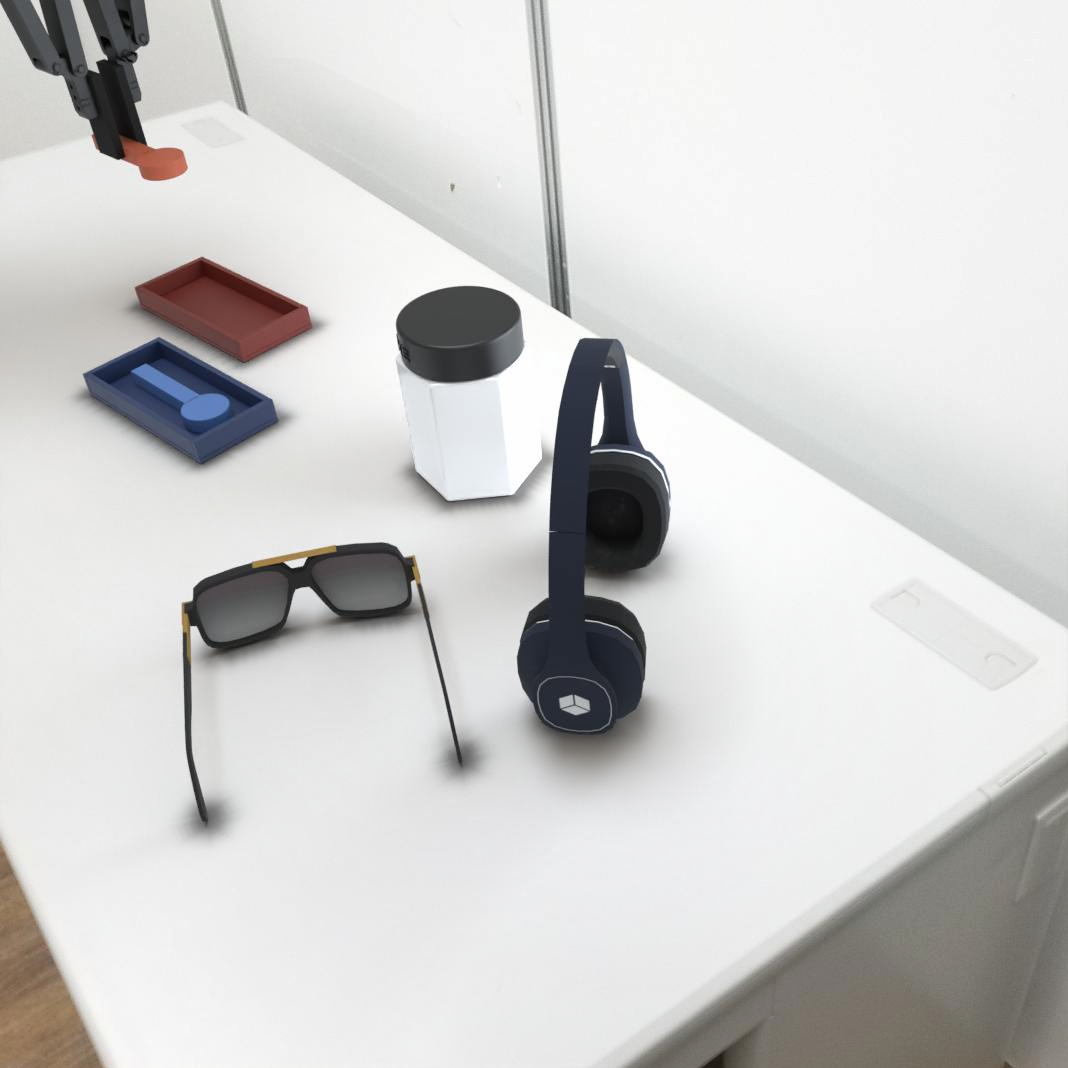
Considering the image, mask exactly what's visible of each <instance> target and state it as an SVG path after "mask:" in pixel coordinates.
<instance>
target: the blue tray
mask: <svg viewBox="0 0 1068 1068" xmlns="http://www.w3.org/2000/svg"><path fill="white" fill-rule="evenodd" d="M144 364H147V365H149V366H151V367H153V368H154V369H156V370H158V371H159V372H161V373H163V374H165V375H166V376H168V377H170V378H171V379H173V380H175V381H177V382H178V383H180V384H182V385H183V386H185V387H187V388H189V389H190V390H192V391H194V392H195V393H197V394H199V395H203V394H220V395H223V396H225V397H226V398H227V399H228V400H229V402H230V405H231V409H232V412H233V417H232V418H231V419H229V420H227V421H225V422H223V423H221V424H220V425H218V426H216V427H214V428H212V429H210V430H209V431H207V432H205V433H195V432H192V431H190V430H188V429H187V428H186V427H185V424H184V421H183V418H182V415H181V411H179V410H178V409H176V408H174V407H173V406H171V405H169V404H168V403H166V402H164V401H163V400H161V399H159V398H158V397H156V396H155V395H153V394H151V393H150V392H148V391H146V390H145V389H143V388H141V387H140V386H138V385H136V384H135V382H134V379H133V376H132V373H131V371H132V370H134V369H136V368H138V367H140V366H142V365H144ZM82 377H83V379H84V381H85V384H86V387H87V389H88V392H89V395H90V396H92V397H93V398H95V399H97V401H100V402H102V403H103V404H104V405H106V406H107V407H110V408H111V409H112V410H114V411H116V412H117V413H119V414H120V415H122V416H123V417H125V418H127V419H128V420H130V421H132V422H133V423H135V424H136V425H138V426H139V427H141V428H143V429H144V430H146V431H148V432H149V433H150V434H152V435H154V436H155V437H157V438H159V439H160V440H162V441H164V442H165V443H166V444H168V445H170V446H171V447H173V448H175V449H176V450H178V451H180V452H181V453H183V454H184V455H185V456H187V457H189V458H191V459H192V460H193V461H195V462H197V463H198V464H200V465H202V464H204V463H207V462H208V461H209V460H210V459H213V458H215V457H216V456H218V455H220V454H221V453H222V454H223V452H225V451H227V450H229V449H231V448H232V447H234V446H236V445H238V444H239V443H241V442H244V441H245V440H246V439H248V438H250V437H252V436H254V435H256V434H257V433H259V432H261V431H263V430H265V429H267V428H269V427H270V426H271V425H273V424H275V423H277V422H278V421H279V418H278V415H277V412H276V408H275V407H276V406H275V404H274V400H273V399H272V398H271V397H269V396H267V395H265V394H263V393H261V392H259V391H258V390H256V389H254V388H253V387H251V386H249V385H248V384H247V385H246V384H245V383H244V382H241V381H240V380H238V379H236V378H234V377H232V376H231V375H229V374H227V373H226V372H223V371H222V370H220V369H218V368H216V367H215V366H213V365H211V364H209V363H207V362H206V361H204V360H202V359H200V358H198V357H196V356H195V355H193V354H191V353H189V352H188V351H186V350H184V349H183V348H181V347H179V346H177V345H174V344H173V343H171V342H169V341H167V340H166V339H164V338H163V337H161V336H158V337H156V338H154V339H152V340H150V341H148V342H146V343H143V344H142V345H139V346H137V347H135V348H133V349H131V350H129V351H127V352H125V353H123V354H121V355H118V356H117V357H115V358H113V359H110V360H108V361H106V362H104V363H102V364H100V365H98V366H96V367H94V368H92V369H90V370H88V371H86V372H83V373H82Z"/></svg>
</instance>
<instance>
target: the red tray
mask: <svg viewBox="0 0 1068 1068" xmlns="http://www.w3.org/2000/svg"><path fill="white" fill-rule="evenodd" d="M133 288H134V291H135V294H136V297H137V299H138V303H139V306H140V308H142V309H144V310H146V311H148V312H150V313H152V314H153V315H155V316H157V317H159V318H161V319H163V320H164V321H166V322H168V323H170V324H172V325H173V326H175V327H177V328H179V329H181V330H183V331H184V332H186V333H188V334H190V335H192V336H194V337H195V338H198V339H200V340H202V341H203V342H205V343H207V344H209V345H211V346H212V347H214V348H216V349H218V350H220V351H222V352H223V353H226V354H227V355H229V356H231V357H233V358H235V359H237V360H239V361H240V362H242V363H246V362H248V361H250V360H252V359H254V358H256V357H258V356H259V355H261V354H264V353H265V352H267V351H269V350H271V349H273V348H275V347H277V346H279V345H281V344H282V343H284V342H286V341H288V340H291V339H292V338H294V337H296V336H298V335H300V334H302V333H304V332H306V331H307V330H309V329H311V328H313V325H312V320H311V316H310V312H309V307H308V306H306V305H304V304H303V303H299V301H296V300H294V299H292V298H289V297H288V296H285V295H283V294H281V293H280V292H277V291H275V290H273V289H271V288H268V287H267V286H265V285H263V284H260V283H259V282H256V281H254V280H253V279H251V278H249V277H246V276H244V275H242V274H241V273H240V274H239V273H238V272H235V271H233V270H231V269H230V268H227V267H225V266H223V265H222V264H218V262H217V263H216V262H215V261H213V260H210V259H208V258H206V257H204V256H200V257H198V258H196V259H192V260H191V261H189V262H186V263H184V264H183V265H182V264H181V265H180V266H177V267H176V268H174V269H171V270H169V271H167V272H165V273H163V274H160V275H158V276H156V277H154V278H152V279H149V280H147V281H145V282H143V283H140V284H139V285H136V286H134V287H133Z"/></svg>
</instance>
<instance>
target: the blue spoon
mask: <svg viewBox="0 0 1068 1068" xmlns="http://www.w3.org/2000/svg"><path fill="white" fill-rule="evenodd" d="M131 373H132V376H133V379H134V382H135V384H136V385H138V386H140V387H141V388H143V389H145V390H146V391H148V392H150V393H151V394H153V395H155V396H156V397H158V398H159V399H161V400H163V401H164V402H166V403H168V404H169V405H171V406H173V407H174V408H176V409H178V410H179V411H181V415H182V418H183V421H184V424H185V427H186V428H187V429H188V430H190V431H192V432H195V433H205V432H207V431H209V430H210V429H212V428H214V427H216V426H218V425H220V424H221V423H223V422H225V421H227V420H229V419H231V418H232V417H233V412H232V409H231V405H230V402H229V400H228V399H227V398H226V397H225V396H223V395H220V394H203V395H199V394H197V393H195V392H194V391H192V390H190V389H189V388H187V387H185V386H183V385H182V384H180V383H178V382H177V381H175V380H173V379H171V378H170V377H168V376H166V375H165V374H163V373H161V372H159V371H158V370H156V369H154V368H153V367H151V366H149V365H147V364H144V365H142V366H140V367H138V368H136V369H134V370H132V371H131Z"/></svg>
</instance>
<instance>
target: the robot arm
mask: <svg viewBox="0 0 1068 1068" xmlns="http://www.w3.org/2000/svg"><path fill="white" fill-rule="evenodd" d="M38 1H39V2H38V3H39V5H40V9H41V13H42V17H43V20H44V24H45V25H44V24H43V21H42V20H41V17H40V15H39V14H38V12H37V10H36V7H35V6H34V4H33V2H32V0H0V6H1V8H2V9H3V11H4V13H5V15H6V18H7V19H8V21H9V22H10V24H11V27H12V28H13V30H14V32H15V33H16V36H17V37H18V40H19V42H20V43H21V45H22V47H23V49H24V50H25V53H26V54H27V56H28V59H29V60H30V62H31V64H32V66H33V67H34V68H35V69H36V70H38V71H41V72H44V73H46V74H49V75H52V76H55V77H59V76H62V78H63V79H64V83H65V85H66V88H67V91H68V93H69V97H70V99H71V103H72V105H73V109H74V111H75V112H76V113H77V115H78V116H79V117H81V118H82V119H86V120H88V121H89V124H90V127H91V130H92V133H93V134H94V136H95V139H96V142H97V145H98V148H99V150H98V152H99V153H100V154H103V155H105V156H107V157H110V158H112V159H114V160H115V161H116V160H117V161H121V159H123V158H125V154H124V150H123V145H122V142H121V139H120V136H119V135H121V136H124V137H126V138H129V139H131V140H134V141H136V142H139V143H142V144H144V145H147V146H149V145H148V143H147V140H146V139H147V138H146V136H145V132H144V129H143V126H142V123H141V119H140V116H139V113H138V110H137V106H136V103H139V102H141V101H142V91H141V87H140V84H139V81H138V77H137V74H136V71H135V67H134V64H135V63H136V62H137V61H138V58H139V54H138V52H137V51H138V50H139V49H140V48H141V47H143V48H144V47H147V46H148V45H149V43H150V41H151V40H150V30H149V23H148V17H147V9H146V1H145V0H82V2H83V5H84V8H85V10H86V13H87V15H88V17H89V21H90V23H91V26H92V28H93V32H94V34H95V36H96V40H97V42H98V44H99V47H100V49H101V52H102V55H104V56H106V58H107V59H106V58H103V59H100V60H97V61H95V64H96V67H97V69H98V71H97V72H96V71H94V70H91V69H89V67H88V63H87V59H86V56H85V51H84V48H83V43H82V41H81V35H80V32H79V28H78V25H77V20H76V16H75V13H74V9H73V5H72V1H71V0H38ZM45 27H46V28H45Z"/></svg>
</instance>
